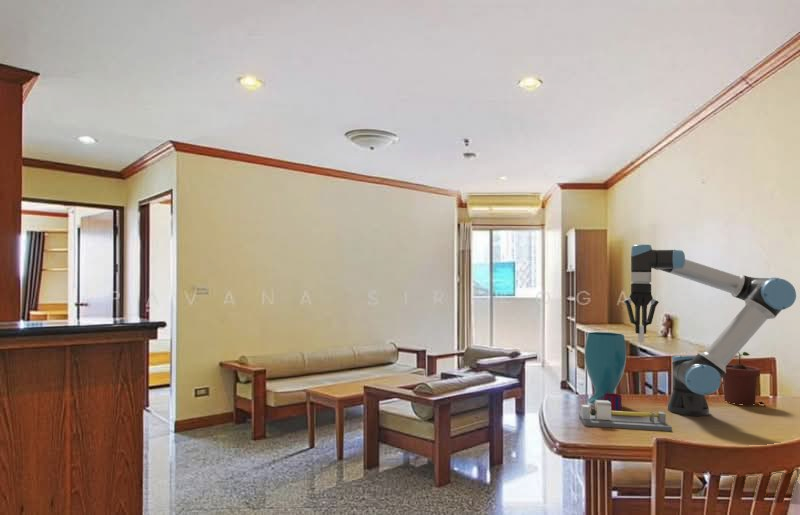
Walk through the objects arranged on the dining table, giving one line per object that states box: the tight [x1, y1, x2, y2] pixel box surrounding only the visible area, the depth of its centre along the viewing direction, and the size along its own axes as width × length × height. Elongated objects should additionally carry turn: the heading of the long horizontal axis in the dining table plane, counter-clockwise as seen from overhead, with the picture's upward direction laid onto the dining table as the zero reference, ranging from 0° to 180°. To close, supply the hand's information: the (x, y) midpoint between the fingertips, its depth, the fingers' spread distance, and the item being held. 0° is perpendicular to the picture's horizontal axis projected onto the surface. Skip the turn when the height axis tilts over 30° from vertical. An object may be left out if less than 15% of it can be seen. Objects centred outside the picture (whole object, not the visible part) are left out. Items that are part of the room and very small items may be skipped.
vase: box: [584, 331, 627, 406], centre depth 240 cm, size 17×17×30 cm
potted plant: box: [722, 351, 765, 405], centre depth 246 cm, size 18×22×25 cm
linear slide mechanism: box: [578, 404, 673, 432], centre depth 203 cm, size 30×12×6 cm, turn 81°
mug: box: [600, 393, 622, 411], centre depth 222 cm, size 7×10×7 cm
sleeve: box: [594, 400, 612, 420], centre depth 204 cm, size 5×5×6 cm
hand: (640, 341), depth 217 cm, fingers closed
